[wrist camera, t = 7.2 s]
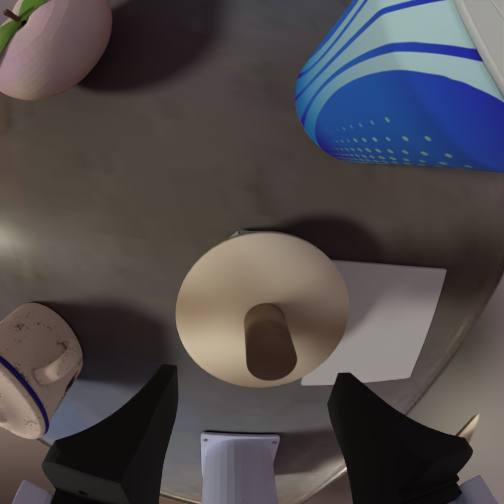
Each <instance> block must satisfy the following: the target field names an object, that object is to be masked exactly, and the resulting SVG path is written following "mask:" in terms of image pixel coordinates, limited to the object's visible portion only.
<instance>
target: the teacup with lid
mask: <svg viewBox="0 0 504 504" xmlns="http://www.w3.org/2000/svg"><path fill="white" fill-rule="evenodd" d="M82 365H83V355H82V350H81V347H80V344H79V342H78V339H77V337H76V336H75V334H74V332H73V331H72V329H71V328H70V326H69V325H68V324H67V323H66V322H65V321H64V320H63V318H61V317H60V316H59V315H58V314H57V313H56V312H54V311H53V310H51V309H50V308H48V307H46V306H44V305H41V304H38V303H26V304H23V305H21V306H20V307H18V308H17V309H16V310H15V311H13V312H12V313H11V314H10V315H8V316H7V317H6V318H5V319H4V320H2V321H1V322H0V426H1V427H3V428H6V429H7V430H9V431H11V432H12V433H14V434H16V435H18V436H21V437H24V438H28V439H36V438H40V437H41V436H43V435H44V434H46V433H47V431H48V429H49V422H50V420H51V418H52V416H53V415H54V413H55V411H56V410H57V408H58V406H59V405H60V403H61V402H62V400H63V398H64V397H65V395H66V393H67V392H68V390H69V389H70V387H71V386H72V384H73V382H74V381H75V379H76V378H77V376H78V375H79V373H80V371H81V369H82Z"/></svg>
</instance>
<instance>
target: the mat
mask: <svg viewBox="0 0 504 504" xmlns="http://www.w3.org/2000/svg"><path fill="white" fill-rule="evenodd" d="M331 261H332V262H333V263H334V264H335V266H336V267H337V269H338V270H339V272H340V273H341V275H342V277H343V279H344V282H345V284H346V288H347V291H348V297H349V317H348V323H347V326H346V329H345V332H344V335H343V337H342V339H341V341H340V343H339V344H338V346H337V348H336V349H335V350H334V352H333V353H332V354H331V355H330V357H329V358H328V359H327V360H326V361H325V362H324V363H323V364H321V365H320V366H319V367H318V368H316V369H315V370H314V371H312V372H310V373H309V374H307V375H305V376H303V377H302V381H301V384H302V385H333V384H334V383H335V380H336V377H337V374H338V373H346V372H350V373H351V374H353V375H354V376H355V377H356V378H357V379H359V380H360V381H361V382H362V383H364V382H375V381H385V380H394V379H402V378H409V377H410V375H411V373H412V370H413V368H414V366H415V363H416V361H417V359H418V356H419V354H420V351H421V349H422V346H423V343H424V341H425V338H426V335H427V333H428V330H429V327H430V324H431V321H432V318H433V315H434V312H435V309H436V306H437V303H438V299H439V296H440V293H441V289H442V286H443V282H444V279H445V275H446V271H447V270H446V269H442V268H430V267H417V266H405V265H392V264H380V263H367V262H355V261H342V260H331Z"/></svg>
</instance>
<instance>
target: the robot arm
mask: <svg viewBox="0 0 504 504" xmlns="http://www.w3.org/2000/svg"><path fill="white" fill-rule="evenodd" d="M177 405H178V378H177V366H175V365H167V364H163V365H161V366H160V368H159V369H158V370H157V372H156V373H155V374H154V375H153V376H152V378H151V379H150V380H149V381H148V382H147V383H146V384H145V385H144V386H143V388H142V389H141V390H140V391H139V392H138V393H137V394H136V395H135V396H133V397H132V398H131V399H130V400H129V401H128V402H127V403H126V404H125V405H123V406H122V407H121V408H120V409H118V410H117V411H116V412H114V413H113V414H112V415H110V416H109V417H107V418H105V419H104V420H102V421H101V422H99V423H97V424H96V425H94V426H92V427H90V428H88V429H85V430H83V431H81V432H79V433H76V434H74V435H71V436H68V437H65V438H62V439H59V440H55V442H54V443H53V445H52V446H51V448H50V450H49V451H48V453H47V455H46V457H45V459H44V461H43V463H42V470H43V471H44V473H45V475H46V476H47V478H48V479H49V480H50V482H51V483H52V484H53V486H54V487H55V488H56V491H55V494H54V495H53V494H51V493H50V492H48V491H47V490H45V489H43V488H40V487H38V486H36V485H34V484H32V483H30V482H28V481H26V480H23V481H22V483H21V486H20V488H19V490H18V492H17V494H16V496H15V498H14V500H13V503H12V504H159V495H160V486H161V478H162V470H163V463H164V459H165V454H166V451H167V447H168V443H169V440H170V436H171V433H172V429H173V425H174V422H175V418H176V412H177ZM327 405H328V410H329V415H330V420H331V423H332V426H333V429H334V432H335V435H336V437H337V440H338V443H339V446H340V448H341V451H342V454H343V456H344V460H345V463H346V467H347V471H348V476H349V481H350V486H351V492H352V500H353V504H498V503H497V501H496V500H495V498H494V496H493V495H492V493H491V491H490V490H489V488H488V487H487V485H486V483H485V482H484V480H483V479H482V477H481V476H480V475H478V476H476V477H474V478H472V479H470V480H468V481H466V482H465V483H463V484H462V485H460V486H458V484H457V483H456V482H458V480H459V477H458V476H457V473H458V472H459V471H460V470H461V469H462V468H463V467H464V465H465V464H466V463H467V462H468V460H469V459H470V457H471V456H472V453H473V449H472V448H471V446H470V445H469V444H468V442H467V441H466V439H465V438H463V437H458V436H454V435H449V434H446V433H443V432H440V431H437V430H434V429H431V428H429V427H427V426H424V425H422V424H420V423H418V422H416V421H414V420H412V419H410V418H409V417H407V416H405V415H403V414H402V413H400V412H399V411H397V410H396V409H394V408H393V407H391V406H390V405H389V404H387V403H386V402H385V401H383V400H382V399H381V398H380V397H378V396H377V395H376V394H375V393H374V392H372V391H371V390H370V389H369V388H368V387H367V386H365V385H364V384H363V383H362V382H361V381H360V380H359V379H357V378H356V377H355V376H354V375H353V374H351V373H350V372H346V373H338V374H337V377H336V380H335V383H334V386H333V389H332V392H331V395H330V398H329V401H328V404H327ZM279 441H280V436H279V435H257V434H228V433H213V432H203V433H201V459H202V476H203V492H202V504H278V498H277V491H276V483H275V476H274V468H273V462H274V459H275V455H276V452H277V448H278V445H279Z"/></svg>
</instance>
